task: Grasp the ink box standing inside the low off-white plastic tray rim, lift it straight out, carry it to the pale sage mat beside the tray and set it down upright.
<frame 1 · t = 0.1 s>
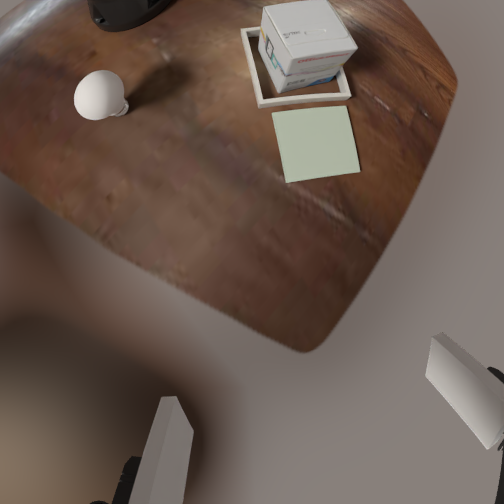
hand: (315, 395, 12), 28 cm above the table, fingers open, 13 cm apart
light bulb: (122, 109, 33), on the table
ink box: (293, 64, 33), resting in tray rim
tray rim: (294, 64, 33), on the table
mat: (317, 142, 35), on the table
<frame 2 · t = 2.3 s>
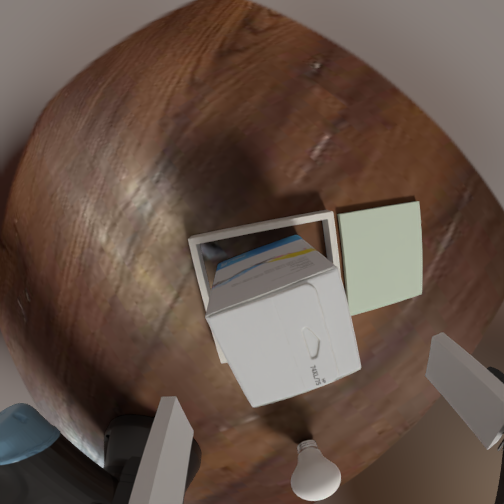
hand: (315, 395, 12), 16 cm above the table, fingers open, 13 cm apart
light bulb: (305, 440, 33), on the table
ink box: (271, 286, 28), resting in tray rim
tray rim: (271, 287, 27), on the table
mat: (384, 257, 27), on the table
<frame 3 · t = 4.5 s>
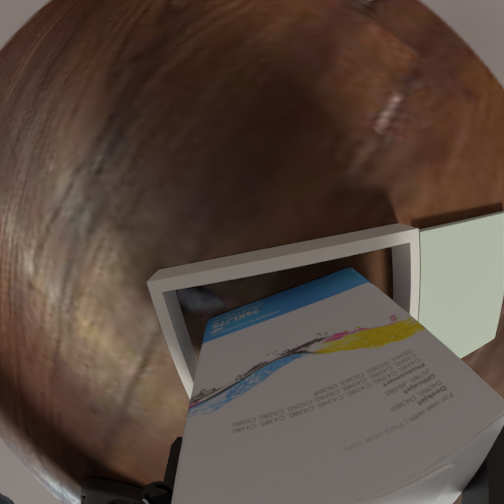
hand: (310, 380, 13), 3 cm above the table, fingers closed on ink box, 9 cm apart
ink box: (300, 352, 15), resting in tray rim, touching gripper
tray rim: (301, 354, 15), on the table
mat: (464, 294, 15), on the table
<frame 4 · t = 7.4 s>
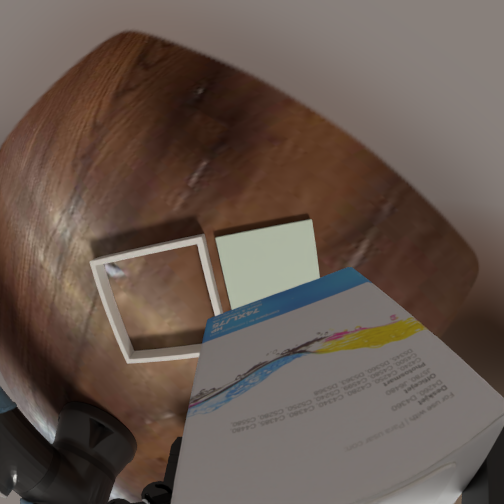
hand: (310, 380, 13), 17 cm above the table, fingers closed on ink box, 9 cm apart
ink box: (300, 352, 15), point 15 cm above the table, touching gripper
tray rim: (162, 302, 30), on the table
mat: (272, 277, 30), on the table
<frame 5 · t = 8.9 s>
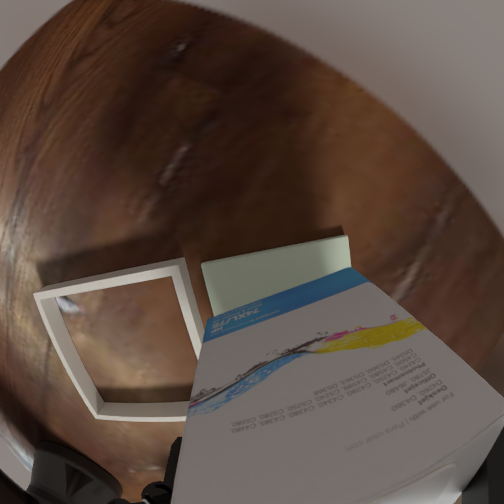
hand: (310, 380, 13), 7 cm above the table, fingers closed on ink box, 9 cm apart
ink box: (300, 352, 15), point 4 cm above the table, touching gripper
tray rim: (131, 349, 20), on the table
mat: (287, 320, 20), on the table
when the fingers open (4 cm above the table, at t = 10.4 s): ink box drops 1 cm, resting on mat.
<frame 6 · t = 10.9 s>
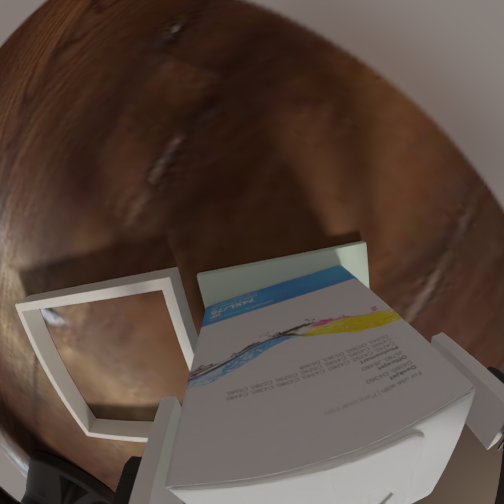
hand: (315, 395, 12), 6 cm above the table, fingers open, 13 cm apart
ink box: (291, 342, 17), resting on mat
tray rim: (121, 366, 17), on the table
mat: (295, 337, 17), on the table
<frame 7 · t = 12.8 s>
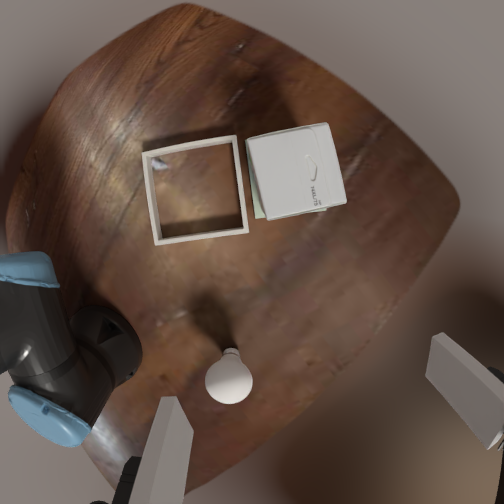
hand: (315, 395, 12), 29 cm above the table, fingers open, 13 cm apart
light bulb: (231, 351, 43), on the table
ink box: (284, 175, 37), resting on mat
tray rim: (195, 190, 37), on the table
mat: (286, 174, 37), on the table
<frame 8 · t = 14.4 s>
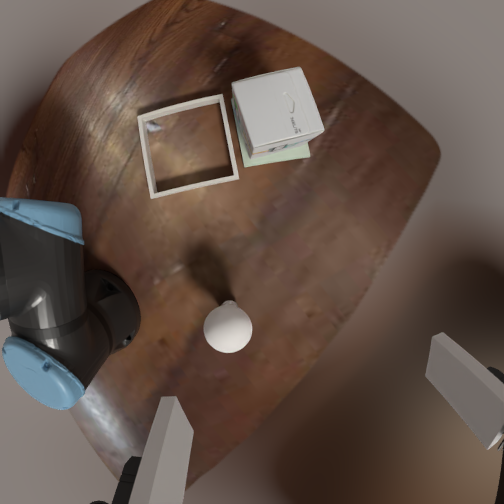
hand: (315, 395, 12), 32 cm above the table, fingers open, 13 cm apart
light bulb: (229, 306, 44), on the table
ink box: (268, 127, 38), resting on mat
tray rim: (187, 146, 38), on the table
mat: (270, 127, 38), on the table
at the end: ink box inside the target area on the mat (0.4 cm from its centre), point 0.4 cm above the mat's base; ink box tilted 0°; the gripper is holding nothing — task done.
